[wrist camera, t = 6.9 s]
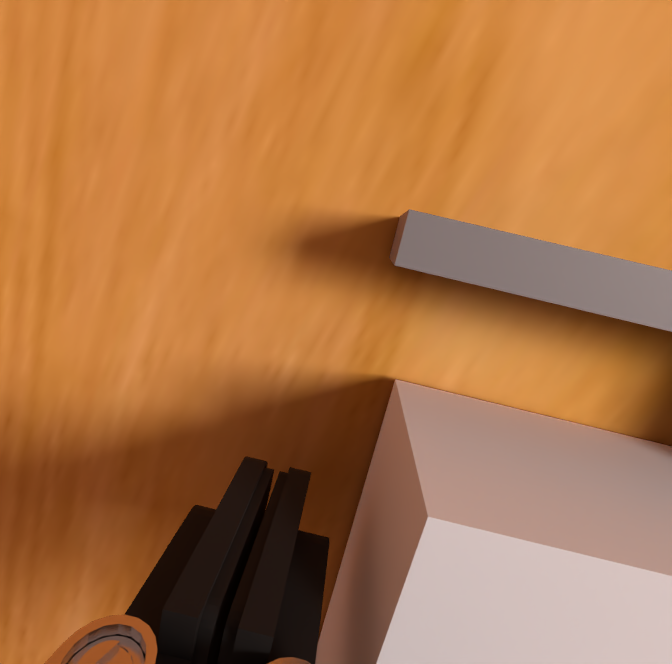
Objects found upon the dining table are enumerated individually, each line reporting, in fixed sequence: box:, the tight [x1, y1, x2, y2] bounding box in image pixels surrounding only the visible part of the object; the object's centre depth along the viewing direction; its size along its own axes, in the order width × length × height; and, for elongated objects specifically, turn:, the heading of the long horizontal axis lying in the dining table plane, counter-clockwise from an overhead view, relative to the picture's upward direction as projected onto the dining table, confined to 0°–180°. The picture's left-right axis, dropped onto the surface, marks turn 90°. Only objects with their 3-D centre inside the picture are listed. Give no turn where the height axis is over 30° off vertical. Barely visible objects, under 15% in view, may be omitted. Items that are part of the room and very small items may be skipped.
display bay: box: [389, 209, 672, 332], centre depth 10 cm, size 10×15×2 cm
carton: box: [315, 379, 672, 664], centre depth 9 cm, size 8×10×5 cm
